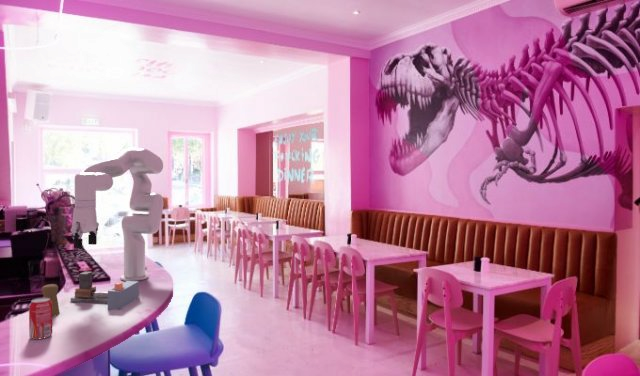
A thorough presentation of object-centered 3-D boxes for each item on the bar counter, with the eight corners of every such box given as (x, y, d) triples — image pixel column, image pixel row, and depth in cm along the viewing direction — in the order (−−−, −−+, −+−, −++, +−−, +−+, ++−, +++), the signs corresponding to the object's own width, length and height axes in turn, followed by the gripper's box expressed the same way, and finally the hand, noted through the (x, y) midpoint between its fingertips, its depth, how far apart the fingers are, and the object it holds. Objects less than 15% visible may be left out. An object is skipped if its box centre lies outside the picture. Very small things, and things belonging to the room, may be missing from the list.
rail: (79, 297, 182) (79, 289, 182) (124, 299, 181) (124, 290, 181) (70, 301, 176) (70, 293, 176) (116, 303, 175) (116, 295, 175)
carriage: (81, 293, 181) (81, 271, 181) (96, 294, 181) (95, 271, 181) (75, 297, 177) (75, 273, 177) (89, 297, 177) (89, 274, 176)
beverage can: (36, 333, 144) (35, 296, 143) (56, 333, 144) (56, 296, 143) (25, 340, 137) (24, 302, 137) (46, 340, 138) (45, 302, 137)
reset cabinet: (127, 297, 184) (127, 280, 183) (138, 298, 183) (138, 281, 183) (107, 309, 169) (107, 290, 168) (120, 309, 168) (120, 291, 168)
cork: (50, 318, 158) (50, 287, 157) (36, 316, 159) (36, 286, 158) (63, 312, 164) (63, 283, 163) (49, 311, 165) (49, 282, 164)
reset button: (116, 297, 174) (117, 282, 173) (124, 297, 173) (124, 282, 173) (112, 299, 171) (112, 284, 170) (120, 300, 170) (120, 284, 170)
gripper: (88, 202, 186) (89, 242, 187) (62, 205, 169) (62, 250, 170) (106, 202, 185) (106, 243, 186) (81, 206, 168) (81, 250, 169)
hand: (85, 246), depth 178 cm, fingers open, 9 cm apart
